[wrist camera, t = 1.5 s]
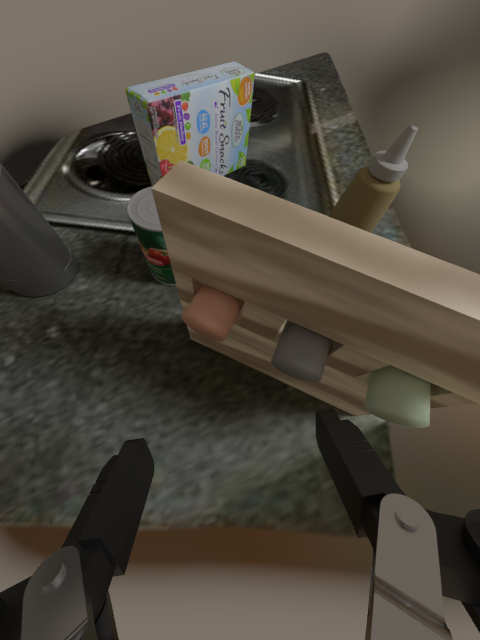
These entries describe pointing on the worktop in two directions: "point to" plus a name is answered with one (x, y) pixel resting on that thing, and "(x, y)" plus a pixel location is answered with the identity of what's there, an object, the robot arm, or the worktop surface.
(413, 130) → the squeeze bottle
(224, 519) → the worktop surface
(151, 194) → the canned tomato
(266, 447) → the worktop surface
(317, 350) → the grey button
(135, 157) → the worktop surface
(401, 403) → the sage button
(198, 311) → the terracotta button
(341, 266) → the button panel
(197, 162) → the snack box
